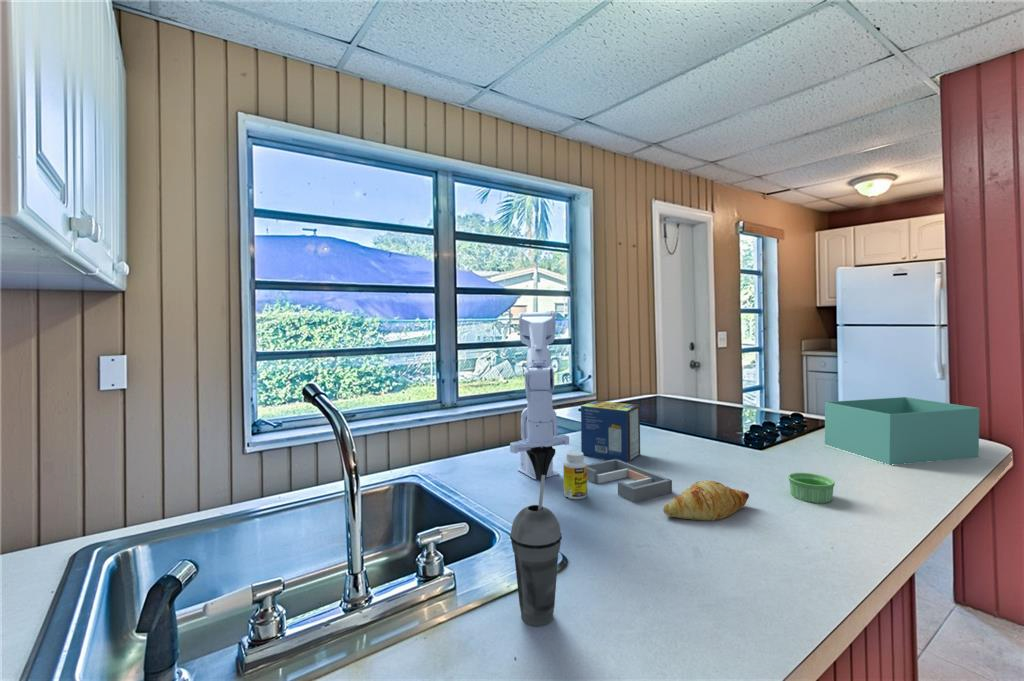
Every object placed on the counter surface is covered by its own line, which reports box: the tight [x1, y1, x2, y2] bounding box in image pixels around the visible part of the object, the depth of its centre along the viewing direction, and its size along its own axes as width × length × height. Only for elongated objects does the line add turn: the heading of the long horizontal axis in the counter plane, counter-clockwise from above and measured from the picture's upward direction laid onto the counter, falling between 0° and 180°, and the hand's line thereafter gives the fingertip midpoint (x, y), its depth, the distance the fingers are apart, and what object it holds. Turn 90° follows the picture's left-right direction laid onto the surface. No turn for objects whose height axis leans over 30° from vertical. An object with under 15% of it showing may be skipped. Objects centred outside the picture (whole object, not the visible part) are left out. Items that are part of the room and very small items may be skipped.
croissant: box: [662, 480, 750, 522], centre depth 99 cm, size 21×10×8 cm
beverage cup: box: [509, 475, 563, 628], centre depth 64 cm, size 7×7×20 cm
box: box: [824, 396, 980, 466], centre depth 140 cm, size 21×32×14 cm, turn 102°
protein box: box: [580, 400, 641, 464], centre depth 142 cm, size 10×15×16 cm
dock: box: [587, 459, 673, 503], centre depth 116 cm, size 20×12×3 cm, turn 28°
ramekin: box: [788, 472, 836, 504], centre depth 106 cm, size 9×9×4 cm
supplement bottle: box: [562, 450, 588, 500], centre depth 109 cm, size 6×6×10 cm
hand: (540, 479), depth 105 cm, fingers closed
